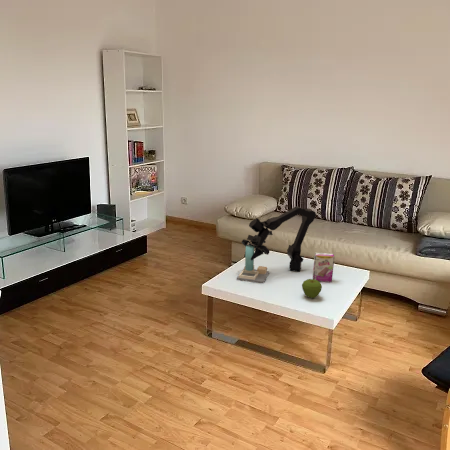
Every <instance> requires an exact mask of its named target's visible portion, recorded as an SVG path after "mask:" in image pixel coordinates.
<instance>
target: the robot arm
mask: <svg viewBox="0 0 450 450" xmlns="http://www.w3.org/2000/svg"><path fill="white" fill-rule="evenodd" d="M297 215H300V216H301V224H300V226H299V229H298V230H297V234H296V236H295V238H294V240H293V243H292V244H288V247H287V249H286V254H287V256H288V257H289V259H290V261H289V266H288V267H289V271H292V272H298V273H299V272H301V270H302V263H303V262H304V258H303V256H301V253H302V245H303V242H304V240H305V236H306V234H307V232H308V229H309V226H310V225H311V224H312V223H313V222H314V221H315V219H316V218H317V214H316V212H315V210H312V209H311V208H303V207H300V206H298V205H297V206H294V207H293V208H291V209H289V210H288V211H287V210H286V211H285V212H284V213H282V214H279V216H278V215H277V216H275V217H274V216H273V217H270V218H268V219H266V220H265V221H260V219H259V218H255V219H253V220H251V221H250V222H249V224H248V227H249V228H250V229H251V230H253V232H255V233H257V234H255V235H250V234H248V236H247V238H246V239H245V238H244V239H242V240H241V242H240V243H241V244H242V245H243V246H244V247H245V248H246V246H249V245H250V246H254V254H253V256H252V257H251V260H253V259H254V260H255V259H256V258H258V257H259V256H262V255H267V256H268V255H269V254H270V249H269V248H268V247H267V246H265V245H264V244H266V243H267V242H266V240H267V238H268V237H269V236H273V231H275V230H277V229H278V228H279V227H281V225H282V224H283V223H285V222H287V221H288V220H290V219H293V218H294V217H296V216H297ZM244 251H245V252H246V250H244ZM245 252H244V253H245ZM244 258H245V254H244Z"/></svg>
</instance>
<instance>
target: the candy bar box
mask: <svg viewBox="0 0 450 450" xmlns="http://www.w3.org/2000/svg"><path fill="white" fill-rule="evenodd" d="M334 263H335V254H334V253H330V252H329V253H325V252H314V259H313V270H312V279H314V280H317V281H319V282H325V283H332V282H333V274H334Z"/></svg>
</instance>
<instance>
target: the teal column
mask: <svg viewBox="0 0 450 450" xmlns="http://www.w3.org/2000/svg"><path fill="white" fill-rule="evenodd" d="M245 251H246V252H244V255H245V257H244V262H245V263H244V267H245V270H247V271H252V270H254V269H255V265H254V264H255V263H254V261H255V259H253V260H251V257H252V256H253V254H254V252H255V248H254V246H250V245H249V246H246V247H245Z"/></svg>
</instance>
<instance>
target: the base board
mask: <svg viewBox="0 0 450 450" xmlns="http://www.w3.org/2000/svg"><path fill="white" fill-rule="evenodd" d="M270 272H271V271H270V270H268V267H267V266H264V265H258V267H257V268H254V270H252V271H247V270H245V266H244V267H243V269H242V270H241V272H240V273H239V274H238V276H237V277H236V281H242V282H243V281H244V282H250V283H257V284H264V283H265V281H266V280H267V278H268V276H269V275H270Z"/></svg>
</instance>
